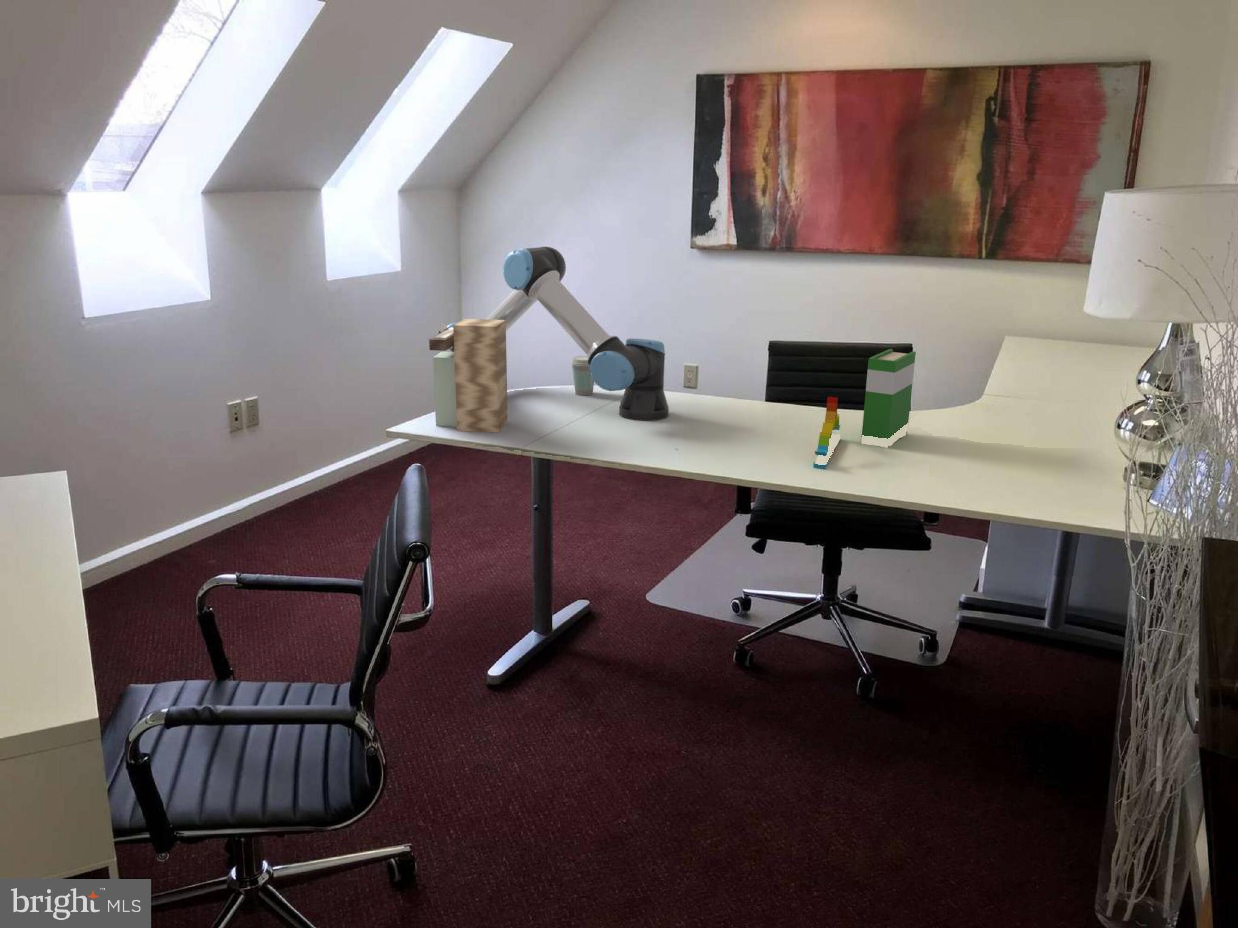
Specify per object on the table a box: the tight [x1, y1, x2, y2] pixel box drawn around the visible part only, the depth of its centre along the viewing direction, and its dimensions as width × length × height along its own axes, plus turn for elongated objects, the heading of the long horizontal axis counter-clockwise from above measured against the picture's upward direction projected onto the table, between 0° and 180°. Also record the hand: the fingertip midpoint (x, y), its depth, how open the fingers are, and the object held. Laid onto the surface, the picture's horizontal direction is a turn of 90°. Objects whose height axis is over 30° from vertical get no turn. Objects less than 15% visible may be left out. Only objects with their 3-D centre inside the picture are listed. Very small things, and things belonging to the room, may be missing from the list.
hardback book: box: [861, 348, 917, 439], centre depth 268 cm, size 18×7×24 cm, turn 147°
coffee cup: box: [571, 355, 595, 396], centre depth 318 cm, size 8×9×12 cm
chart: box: [813, 396, 841, 470], centre depth 255 cm, size 30×3×15 cm, turn 161°
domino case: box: [428, 327, 454, 352], centre depth 275 cm, size 4×22×3 cm, turn 174°
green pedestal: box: [432, 351, 457, 427], centre depth 279 cm, size 7×9×20 cm
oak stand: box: [453, 318, 509, 433], centre depth 274 cm, size 12×12×30 cm
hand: (451, 327), depth 278 cm, fingers closed on domino case, 4 cm apart
